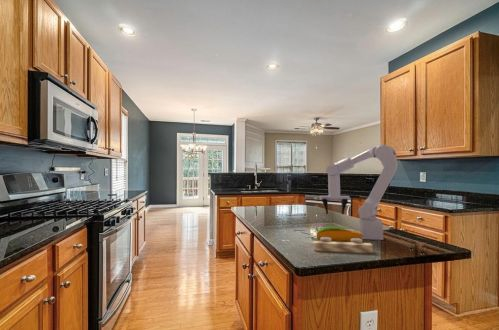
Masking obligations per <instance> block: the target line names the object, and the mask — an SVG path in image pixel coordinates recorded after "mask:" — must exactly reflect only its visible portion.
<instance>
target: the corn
mask: <svg viewBox="0 0 499 330" xmlns="http://www.w3.org/2000/svg"><path fill="white" fill-rule="evenodd" d="M350 229H351V228H350V227H346V226H325V227H322V228H320V229H318V230H317V232H316V234H315V235H316V238H317V239H318V241H320V238H321V237H329V238H331V242H351V238H359V239H361V238H363V235H362V234H360V231H355V230H350Z"/></svg>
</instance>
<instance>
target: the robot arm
mask: <svg viewBox="0 0 499 330" xmlns="http://www.w3.org/2000/svg"><path fill="white" fill-rule="evenodd" d="M370 158H372V159H373V158H376V159H378V160H379V161H380V162H381V164H382V166H383V169H382V170H381V172H380V175H379V176H378V178H377V180H376V182H375V184H374V185H373V187H372V190H371V192H370V193H369V195H368V197H367V198H366V199H365V200H364V202H363V204H362V205H360V206H359V207H358V209H357V215H359V233H360V234H362V235H363V238H361V239H362V240H373V241H374V240H376V241H377V240H381V241H383V240H384V227H383V226H384V225H383V221H382V219H381V218H377V216H376V215H377V214H378V210H379V209H378V208H379V205H380V201H381V199H382V197H383V196H384V194H385V193H386V190H387V188H388V187H389V184H390V183H391V180H393V178H394V175H395V174H396V171H397V170H398V167H399V166H398V160H397V152H396V150H395V149H394V148H393V147H392V146H390V145H386V144H379V145H377V146H374V147H371V148H369V149H367V150H366V151H363V152H361V153H359V154H357V155H355V156H354V157H347V156H346V157H343V158H342V159H341V160H339V161H335V162H334V163H329V165H327V167H326V169H325V170H326V173H327V181H328V182H327V183H328V185H327V186H328V190H327V191H328V195H319V201H322V203H323V206H324V209H325V213H326V215H328V214H329V211H328V210H329V209H328V205H329V204H328V203H329V201H341V202H340V203H341V215H344V213H345V211H346V206H347V205H348V202H349V201H350V200H351V199H350V198H351V197H350V196H349V195H341V177H340V176H341V174H342V173H344V172H347V171H349V170H351V169H353V168H354V166H355V164H358V163H361V162H363V161H366V160H369V159H370Z"/></svg>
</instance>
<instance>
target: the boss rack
mask: <svg viewBox="0 0 499 330" xmlns="http://www.w3.org/2000/svg"><path fill="white" fill-rule="evenodd" d="M313 250H314V251H318V252H319V251H320V252H340V253H341V252H342V253H360V254H361V253H363V254H374V246H373V244H372V243H371V242H363V239H359V238H351V242H331V238H329V237H321V238H320V240H313Z"/></svg>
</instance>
